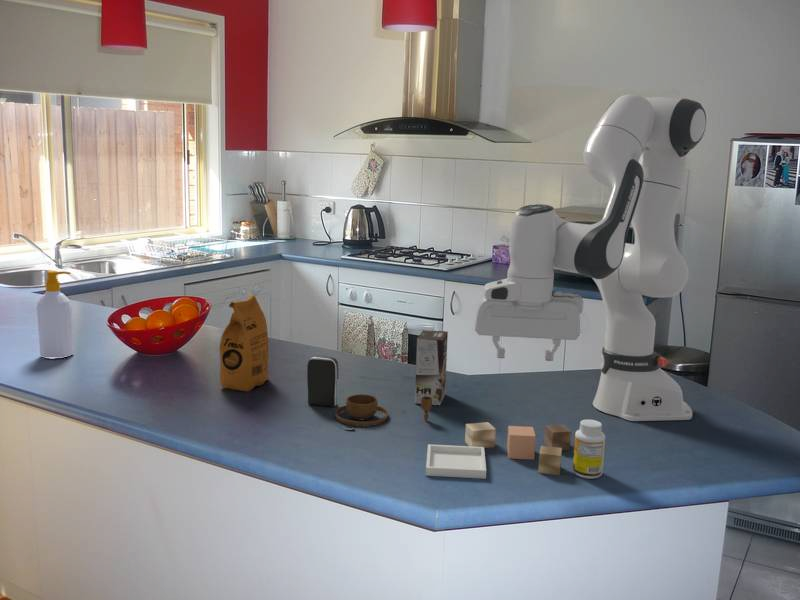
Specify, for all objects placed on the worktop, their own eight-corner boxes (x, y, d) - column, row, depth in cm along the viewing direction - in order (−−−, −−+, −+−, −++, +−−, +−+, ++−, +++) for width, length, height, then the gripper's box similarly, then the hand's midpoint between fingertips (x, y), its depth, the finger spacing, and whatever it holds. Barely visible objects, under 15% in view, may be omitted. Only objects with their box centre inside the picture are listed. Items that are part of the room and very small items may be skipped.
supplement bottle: (580, 465, 151) (584, 415, 149) (607, 473, 148) (611, 422, 146) (566, 474, 147) (570, 423, 145) (593, 482, 143) (598, 430, 141)
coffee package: (213, 388, 191) (211, 301, 187) (241, 374, 202) (239, 292, 198) (248, 393, 188) (247, 305, 183) (274, 379, 199) (273, 295, 195)
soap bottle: (68, 360, 211) (63, 274, 206) (34, 359, 211) (28, 273, 206) (82, 351, 219) (77, 269, 214) (49, 351, 219) (43, 268, 215)
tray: (483, 454, 155) (484, 447, 155) (485, 478, 144) (486, 470, 144) (427, 451, 156) (428, 444, 155) (425, 475, 145) (426, 467, 144)
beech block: (487, 440, 163) (488, 422, 162) (494, 447, 159) (495, 429, 158) (464, 442, 161) (465, 424, 161) (471, 449, 158) (472, 431, 157)
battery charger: (340, 402, 183) (340, 356, 181) (334, 408, 179) (335, 360, 177) (312, 399, 185) (312, 353, 182) (306, 404, 181) (306, 357, 179)
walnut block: (562, 442, 163) (563, 424, 162) (570, 449, 159) (571, 431, 158) (544, 443, 162) (545, 425, 161) (551, 450, 158) (552, 432, 157)
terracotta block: (531, 450, 158) (532, 426, 157) (533, 459, 153) (535, 436, 152) (506, 448, 158) (508, 425, 157) (508, 458, 154) (509, 435, 153)
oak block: (560, 467, 150) (561, 447, 149) (559, 475, 146) (560, 455, 146) (539, 464, 151) (540, 445, 150) (538, 473, 147) (539, 453, 146)
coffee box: (440, 406, 182) (443, 340, 179) (413, 403, 184) (415, 338, 180) (446, 394, 191) (448, 330, 188) (420, 391, 192) (422, 328, 189)
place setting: (364, 403, 185) (364, 379, 183) (435, 422, 174) (436, 397, 173) (316, 424, 170) (316, 399, 169) (391, 446, 160) (392, 419, 158)
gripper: (581, 289, 152) (575, 357, 154) (476, 284, 153) (473, 351, 156) (586, 295, 145) (580, 366, 148) (477, 290, 147) (473, 360, 150)
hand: (524, 358), depth 152 cm, fingers open, 8 cm apart
